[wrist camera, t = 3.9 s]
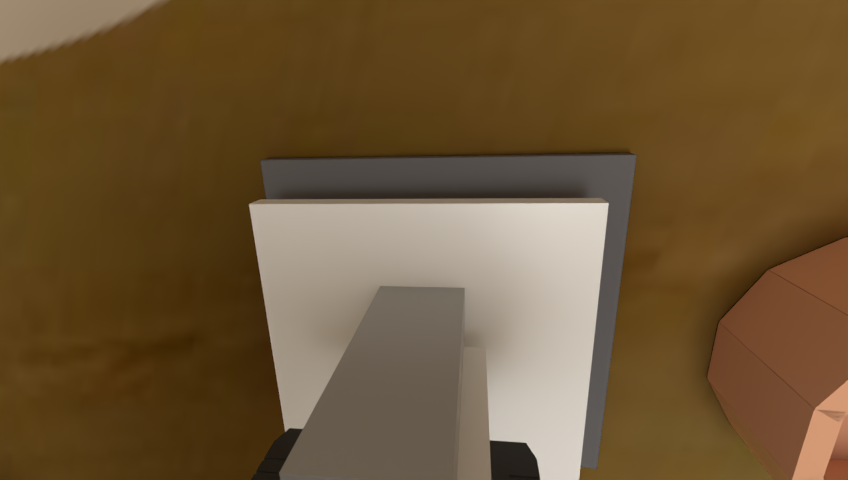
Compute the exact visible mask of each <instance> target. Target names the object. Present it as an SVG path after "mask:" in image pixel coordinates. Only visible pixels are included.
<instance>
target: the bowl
mask: <svg viewBox="0 0 848 480" xmlns="http://www.w3.org/2000/svg"><path fill="white" fill-rule="evenodd" d="M707 379H708V381H709V383H710V385H711V387H712V389H713V391H714V393H715V395H716V397H717V399H718V401H719V403H720V405H721V407H722V409H723V411H724V413H725V415H726V417H727V419H728V421H729V423H730V425H731V426H732V427H733V428H734V430H735V431H736V432H737V433H738V435H739V436H740V437H741V439H742V440H743V441H744V442H745V444H746V445H747V446H748V448H749V449H750V450H751V451H752V453H753V454H754V455H755V457H756V458H757V459H758V460H759V462H760V463H761V464H762V466H763V467H764V468H765V469H766V471H767V472H768V473H769V474H770V476H771V477H772V478H773V480H848V237H845V238H843V239H840V240H838V241H836V242H833V243H831V244H828V245H826V246H824V247H821V248H819V249H816V250H814V251H812V252H809V253H807V254H804V255H802V256H800V257H797V258H795V259H792V260H790V261H788V262H785V263H783V264H780V265H778V266H776V267H773V268H771V269H768V270H767V271H766V272H765V273H764V274H763V276H762V277H761V278H760V279H759V280H758V281H757V282H756V283H755V284H754V285H753V286H752V287H751V288H750V289H749V290H748V291H747V293H746V294H745V295H744V296H743V297H742V298H741V299H740V300H739V301H738V302H737V303H736V304H735V305H734V306H733V307H732V308H731V309H730V311H729V312H728V313H727V314H726V315H725V316H724V317H723V318H722V319H721V320H720V321H719V323H718V328H717V333H716V337H715V342H714V347H713V351H712V356H711V361H710V365H709V370H708V375H707Z"/></svg>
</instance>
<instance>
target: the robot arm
mask: <svg viewBox="0 0 848 480" xmlns="http://www.w3.org/2000/svg"><path fill="white" fill-rule="evenodd" d="M302 430H303V429H296V428H289V429H288V430H287V431H286V432H285V433H284V434H282V435H281V436H280V437H279V438H278V439H277V440H276V441H274V443H273V445H272V446H271V448H270V450H269V451H268V453H267V455H266V456H265V460H264V461H262V463H261V464H260V466H259V468H258V469H257V473H256V474H254V476H253V478H252V479H251V480H280V475H279V472H280V470H281V469H282V467H283V465H284V463H285V461H286V459H287V457H288V456H289V454H290V452H291V450H292V448H293V446H294V445H295V443H296V441H297V439H298V437H299V435H300V433H301V432H302ZM457 480H540V474H539V469H538V463H537V459H536V457H535V456H534V454H533V452H532V451H531V449H530V448H529V446H528V445H527V443H523V442H508V441H493V440H490V437H489V413H488V389H487V365H486V348H478V347H464V350H463V370H462V390H461V410H460V430H459V450H458V470H457Z"/></svg>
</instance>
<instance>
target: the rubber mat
mask: <svg viewBox="0 0 848 480" xmlns="http://www.w3.org/2000/svg"><path fill="white" fill-rule="evenodd" d="M635 163H636V155H635V154H632V153H608V154H542V155H477V156H412V157H346V158H281V159H265V160H261V168H262V175H263V181H264V188H265V195H266V199H479V198H602V199H603V200H605V201H606V202H608V203H609V205H608V215H607V224H606V233H605V243H604V252H603V261H602V271H601V280H600V289H599V298H598V308H597V317H596V326H595V336H594V345H593V354H592V364H591V373H590V382H589V392H588V401H587V410H586V420H585V429H584V438H583V448H582V457H581V466H580V467H583V468H594V469H597V464H598V456H599V448H600V440H601V432H602V424H603V416H604V408H605V400H606V393H607V385H608V377H609V369H610V361H611V353H612V345H613V337H614V329H615V321H616V313H617V306H618V298H619V290H620V282H621V274H622V266H623V258H624V250H625V242H626V234H627V227H628V219H629V211H630V203H631V195H632V187H633V179H634V171H635Z"/></svg>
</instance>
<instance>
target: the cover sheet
mask: <svg viewBox="0 0 848 480" xmlns="http://www.w3.org/2000/svg"><path fill="white" fill-rule="evenodd" d="M608 205H609V203H608V202H606V201H605V200H603V199H602V198H479V199H260V200H258V201H255V202H253V203H250V204H249V208H250V214H251V220H252V227H253V233H254V239H255V245H256V252H257V258H258V264H259V271H260V277H261V283H262V289H263V296H264V302H265V308H266V315H267V321H268V327H269V334H270V340H271V346H272V352H273V359H274V365H275V371H276V378H277V384H278V390H279V396H280V403H281V409H282V415H283V422H284V428H285V432H286V431H287V430H288V429H289V428H296V429H303V430H302V432H301V433H300V435H299V437H298V439H297V441H296V443H295V445H294V446H293V448H292V450H291V452H290V454H289V456H288V457H287V459H286V461H285V463H284V465H283V467H282V469H281V470H280V472H279V475H280V480H457V470H458V450H459V430H460V410H461V390H462V370H463V350H464V347H478V348H486V365H487V389H488V413H489V437H490V440H493V441H508V442H523V443H527V445H528V446H529V448H530V449H531V451H532V452H533V454H534V456H535V457H536V459H537V463H538V469H539V474H540V480H579V476H580V466H581V457H582V448H583V438H584V429H585V420H586V410H587V401H588V392H589V382H590V373H591V364H592V354H593V345H594V336H595V326H596V317H597V308H598V298H599V289H600V280H601V271H602V261H603V252H604V243H605V233H606V224H607V215H608Z"/></svg>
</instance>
